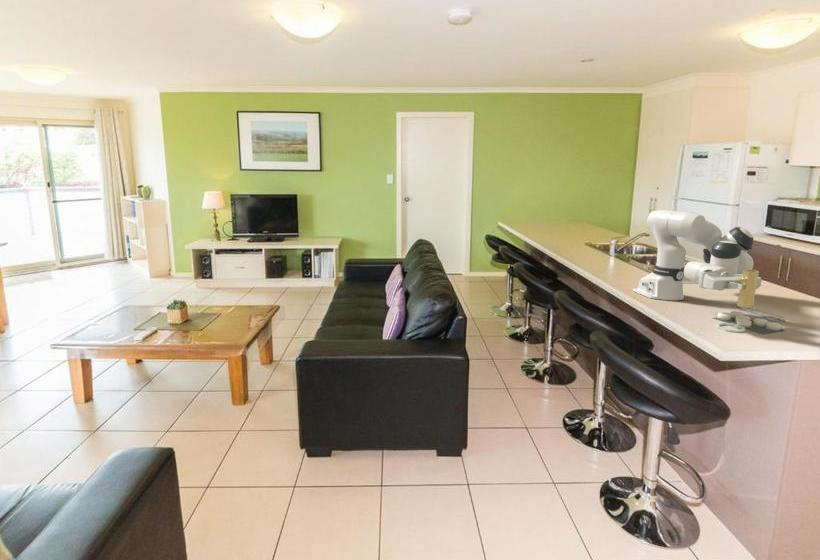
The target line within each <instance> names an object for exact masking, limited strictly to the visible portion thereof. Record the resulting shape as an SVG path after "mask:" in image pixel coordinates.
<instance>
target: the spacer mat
mask: <svg viewBox="0 0 820 560" xmlns="http://www.w3.org/2000/svg"><path fill="white" fill-rule="evenodd" d="M712 319H714V320H716V321H720V322H721V323H732V324H737V325H740V326H743V327H745V329H746V331H751V332H754V333H757V334H760V335H768V334H775V333H782V332H787V330H786V329H782V324H781V323H776V322H771V321H768V320H767V319H766V318H765V319H764V318H759V317H757V318H753V320H752V319H751V317H749V316H746V315H745V313H744V312H741V311H735V310H733V311H730V313H727V312H717V316H716V317H712Z"/></svg>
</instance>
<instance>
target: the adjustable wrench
mask: <svg viewBox="0 0 820 560" xmlns="http://www.w3.org/2000/svg"><path fill="white" fill-rule="evenodd" d="M737 304H738V303H735V306H736V307H735V308H737V307H738V308H737V309H740V310H742V311H744V310H745V312H747V311H748V312H747V313H749V312H750V314H752V315H755V316H757V317H758V318H759V317H761V318H763V319H764V318H765V320H768V322H776V323H779V324H781V322H784V323H785V322H786V319H784V318H782V317H780V316H779V317H778V316H773V315H770V314H767V313H764V312H762V311H759V310H756V309H755V308H753V307H752V308H744V307H740V306H737Z"/></svg>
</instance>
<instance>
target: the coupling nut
mask: <svg viewBox="0 0 820 560" xmlns="http://www.w3.org/2000/svg"><path fill="white" fill-rule="evenodd" d="M759 273H760V271H759V270H757V269H752V270H751V269H744V270H743V272H742V279H741V284H744V285H745V289H744V290H739V293H738V298H737V303H736V304H737V306H740V307H744V308H752V309H753V308H754V305H755V304H754V303H755V296H756V290H757V289H756V286H757V280H758V277H759Z"/></svg>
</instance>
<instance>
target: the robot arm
mask: <svg viewBox="0 0 820 560" xmlns="http://www.w3.org/2000/svg"><path fill="white" fill-rule="evenodd" d="M646 226H647V227H646V228H647V229H648V230H649V231H650V232H651V233H652V234H653V237H654V238H655V242H656V247H657V256H656V264H655V265H651V269H652V272H651V273H649V274H647V275H645V276H643V277H641V278H640V280H639V282H638V286H637V287H634V288H632V291H633V292H634V293H637V294H639V295H642V296H644V297H646V298H649V299H651V300H664V301H682V300H684V299H685V296H684V280H683V278H684V279H686V280H688V281H690V282H692V283H694V284H697V285H698V288H700V289H707V290H716V291H724V290H731V289H732V290H733V289H734V290H739V291H740V290H744V289H745V285H744V284H741V279H742V272H743V270H744V269H751V270H753V269H754V263H755V262H754V259H753V257H752V256H751V255H750V254H749V253H748V252H749V251H750V250H753V245H754V237H753V235H752V233H751V232H750V231H749V230H748V229H746V228H742V227H739V226H736V227H733V228H732V229H730V230H729V231H728V232H727V233H726V234H724V235H722V234H723V233H722V230H721V229H720V227H718V226H717V225H715V224H714V223H712V222H710V221H708V220H706V218H705V216H703V215H702V214H699V213H696V212H691V211H683V210H671V209H658V210H653V211H651V212H650V213H649V215H648V216H647V218H646ZM679 237H680V238H682V239H683V240H685V241H687V242H690V243H693V244H697V245H700V246H703V247H704V248H703V249H702V253H703V255H702V256H703V257H702V258H703V261H704V262H703V261H697V260H695V261H694V260H692V261H688V262H687V263H685V261H686V253H687V252H686V249H685V247H684V246H683V245H681V244H680V242H679V240H678V238H679ZM761 286H762V277H760V276H758V280H757V286H756V290H758V289H759V288H760V287H761Z"/></svg>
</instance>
